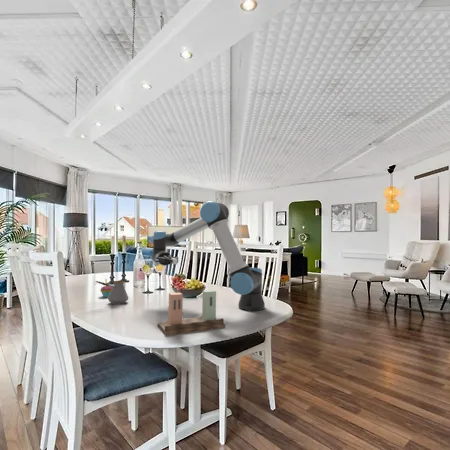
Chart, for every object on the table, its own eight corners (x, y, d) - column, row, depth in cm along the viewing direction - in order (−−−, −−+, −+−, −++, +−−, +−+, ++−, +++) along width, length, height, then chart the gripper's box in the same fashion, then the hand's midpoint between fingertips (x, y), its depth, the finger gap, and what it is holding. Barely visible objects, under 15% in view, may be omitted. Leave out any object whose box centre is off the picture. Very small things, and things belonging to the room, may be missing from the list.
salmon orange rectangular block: (179, 324, 134) (179, 292, 134) (182, 326, 130) (182, 294, 130) (168, 325, 132) (168, 293, 132) (171, 328, 128) (171, 295, 128)
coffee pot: (120, 300, 189) (121, 276, 189) (132, 302, 182) (132, 277, 183) (88, 306, 171) (89, 280, 172) (100, 309, 165) (101, 282, 165)
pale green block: (212, 319, 141) (212, 289, 141) (215, 322, 137) (216, 291, 138) (202, 321, 139) (202, 290, 139) (205, 323, 135) (206, 292, 135)
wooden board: (211, 319, 149) (211, 311, 149) (225, 327, 135) (225, 319, 135) (157, 325, 137) (157, 318, 137) (166, 335, 123) (166, 327, 123)
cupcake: (97, 296, 198) (97, 278, 198) (108, 294, 205) (109, 277, 205) (105, 298, 193) (105, 279, 194) (116, 296, 200) (117, 278, 201)
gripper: (174, 264, 176) (188, 268, 155) (152, 265, 170) (163, 269, 149) (174, 251, 176) (188, 254, 155) (152, 252, 170) (163, 254, 149)
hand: (175, 261), depth 152 cm, fingers closed
